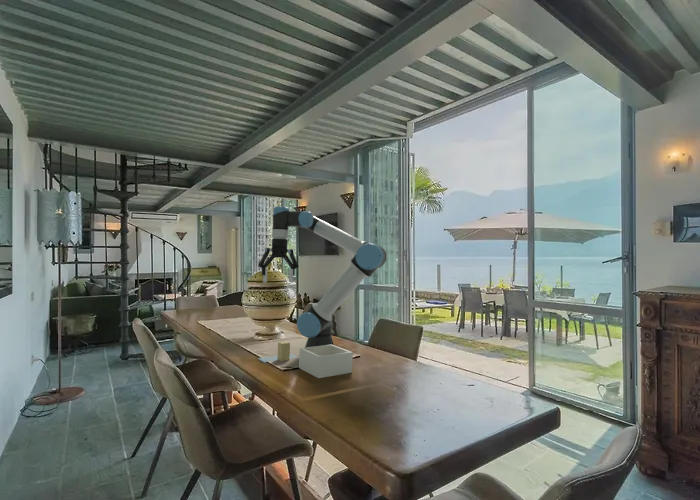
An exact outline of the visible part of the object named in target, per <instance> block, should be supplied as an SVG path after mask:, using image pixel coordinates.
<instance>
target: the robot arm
mask: <svg viewBox="0 0 700 500" xmlns="http://www.w3.org/2000/svg"><path fill="white" fill-rule="evenodd" d="M272 213H273V214H272V230H271V231H272V234H271V235H272V236H271V237H272V239H271V248H269V247H265V249H264V253H263V255H262V256H261V259H260V261H259V263H258V264H257V267H259V268H261V276H263V278H262V283H265V284H266V283H268V268H267V267H268V266H269V265H270V264H271V262H272V261H273V260H274V259H275V258H276V259H279V258H281V259H284V260H285V262H286V264H287V265H288V266H289V267H290V268H289V269H288V270H289V271H288V272H289V273H288V282H289V283H293V281H294V276H295V272H296V269H298V268H299V264H298V262H297V258H296V257H295V254H294V249H293V248H289V249H288V241H289V240H288V238H289V227H290V228H291V227H292V228H293V227H294V228H296V227H297V228H303V229H305V230H306V229H307V231H310V232H311V233H314V234H316V235H318V236H319V237H321V238H324V239H325V240H327V241H328V242H329V241H330V243H332V244H334V245H336V246H338V247H340V248H342V249H344V250H346V251H348V252H350V253H351V254H354V256H353V258H351V260H350V266H348V268H347V269H346V270H345V271H344V273H342V275H341V276H339V278H338V279H337V280H336V281H335V282H334V284H333V285H332V286H331V287H330V289H329V290H328V291H327V292H326V293H325V294H324V295H323V296H322V297H321V298H320V300H319V301H318V302H313V303H312V304H311V305H310V306H309V308H308V309H307V310H305V312H303V313H300V315H299V316H298V318H297V320H296V329H297V331H298V332H299V333H300V335H302V337H305V338H307V340H306V343H305V346H304V348H305V347H314V346H322V345H331V344H332V345H335V343H334V340H333V336H332V335H333V315H334V313H335V312H336V310H338V308H339V307H340V306H341V305H342V304H343V303H344V302H345V300H346V299H347V298H349V296H350V295H351V294H352V293H353V292H354V290H355V289H356V288H357V287H358V286H359V285H360V283H362V281H363V280H364V279H365V278H371V276H372V275H373V274H374V273H375V272H376V270H377V269H380V268H381V267H383V266H384V265H385V263H386V262H387V252H386V250H385V249H384V247H382V246H381V245H380V244H379V245H378V244H377V243H372V242H370V241H368V240H361V239H359V238H358V237H355V236H353V235H351V234H349V233H347V232H346V231H344V230H342V229H340V228H338V227H336V226H334V225H332V224H330V223H328V222H326V221H325V220H322V219H320V218H318V217H317V216H315V215H314V214H312V213H313V212H311V211H307V210H303V211H302V210H301V211H299V210H298V211H296V210H292V211H290V209H289V207H288V206H281V205H280V206H279V205H278V206H275V207H274V208H273V212H272ZM270 253H271V254H270ZM269 254H270V256H269ZM287 254H289V256H288V255H287ZM268 256H269V258H268Z"/></svg>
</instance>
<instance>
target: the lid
mask: <svg viewBox="0 0 700 500" xmlns="http://www.w3.org/2000/svg"><path fill="white" fill-rule="evenodd" d="M296 358H297V359H298V358H299V356H297V355H295V354H293V353H291V342H288V341H287V340H285V341H278V342H277V355H273V356H265V357H258V359H257V360H258V361H260V362H262V363H263V364H265V365H267V366H270V364H268V363H269V362H274V361H280V362H284V361H290V359H296ZM267 362H268V363H267Z"/></svg>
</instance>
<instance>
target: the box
mask: <svg viewBox="0 0 700 500" xmlns="http://www.w3.org/2000/svg"><path fill="white" fill-rule="evenodd" d="M353 353H354V352H353V351H350V350H347V349H345V348H342V347H340V346H336V345H335V344H334V345H332V344H331V345H322V346H314V347H305V346H304V347H300V348H299V355H298V358H299V359H298V360H299V361H298V368H299V369H301V370H302V371H304V372H306V373H308V374H309V375H312V377H313V376H314V377H315V378H317V379H322V378H328V377H334V376H340V375H344V374H345V375H346V374H350V373H353Z"/></svg>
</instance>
